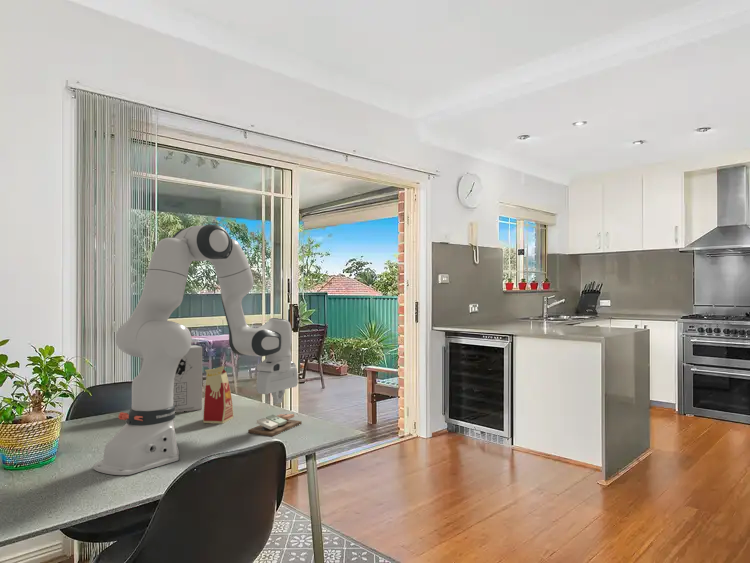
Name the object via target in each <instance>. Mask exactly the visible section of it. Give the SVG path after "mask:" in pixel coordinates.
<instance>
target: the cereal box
mask: <svg viewBox="0 0 750 563" xmlns="http://www.w3.org/2000/svg"><path fill="white" fill-rule="evenodd" d="M139 358H140V362H139V363H140V364H139V365H140V368H139V369H140V370H139V372H140V371H141V368H142V364H143V358H142V357H139ZM173 404H174V405H175V412H179V413H184V411H187V412H192V411H201V410H202V409H203V346H199V345H194V344H193V345H191V347H190V349H189V351H188V352H187V354H186V355H184V356H183V357H182V359H181V360H180V362H179V365H178V367H177V370H176V374H175V378H174V399H173Z"/></svg>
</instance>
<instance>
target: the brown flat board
mask: <svg viewBox="0 0 750 563" xmlns="http://www.w3.org/2000/svg"><path fill="white" fill-rule="evenodd" d="M299 424H300V425H302V420H295V419H288V420H287V422H286V423H285V424H283V425H281V426H278V427H276V428H273V429H271V430H270V429H268V428H266V427H264V426H261V425H259V424H258V425H257V426H255V427H253V428H252V427H251V428H250V429H248V430H247V431H248V433H249V434H253V435H254V434H255V435H262V436H269V437H275V436H277V435H279V434H281V432H282V433H284V432H286V431H289V430H291V429H293V428H295V426H296V427H298V426H300V425H299ZM297 425H298V426H297ZM292 427H293V428H292ZM290 428H291V429H290ZM288 429H289V430H288ZM285 430H286V431H285ZM283 431H284V432H283Z"/></svg>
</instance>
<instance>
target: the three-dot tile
mask: <svg viewBox="0 0 750 563" xmlns="http://www.w3.org/2000/svg"><path fill="white" fill-rule="evenodd" d="M276 416H277V417H280V418H282V419H284V420H288V419H289V420H292V418H295V414H294V413H289V414H288V413H283V414H282V413H281V414H280V413H279V414H277V415H276Z"/></svg>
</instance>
